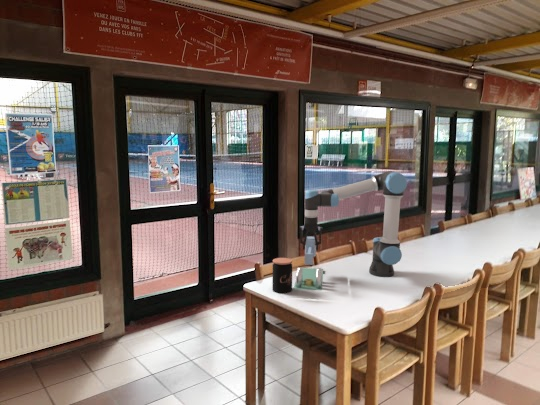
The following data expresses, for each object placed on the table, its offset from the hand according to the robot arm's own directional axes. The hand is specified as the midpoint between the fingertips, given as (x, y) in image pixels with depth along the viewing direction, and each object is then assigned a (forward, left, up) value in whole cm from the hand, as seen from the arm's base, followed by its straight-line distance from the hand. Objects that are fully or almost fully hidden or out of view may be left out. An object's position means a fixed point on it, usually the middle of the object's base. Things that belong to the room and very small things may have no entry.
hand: (310, 255), depth 247 cm
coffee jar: (+14, +23, -15) cm, 31 cm away
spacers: (0, +12, -14) cm, 18 cm away
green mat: (0, 0, -15) cm, 15 cm away
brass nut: (0, +13, -14) cm, 19 cm away
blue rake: (0, +6, 0) cm, 6 cm away
